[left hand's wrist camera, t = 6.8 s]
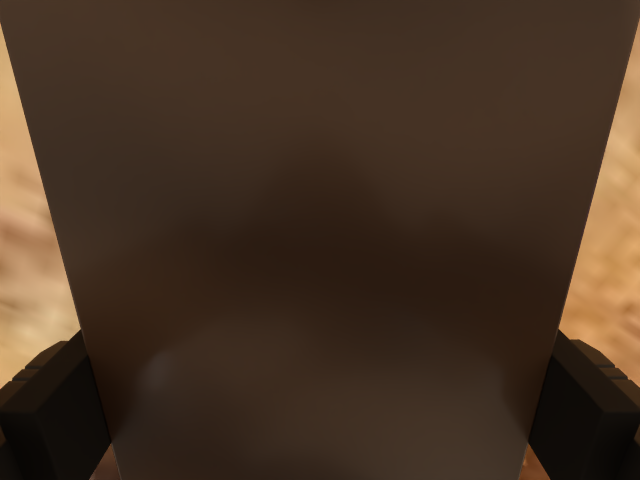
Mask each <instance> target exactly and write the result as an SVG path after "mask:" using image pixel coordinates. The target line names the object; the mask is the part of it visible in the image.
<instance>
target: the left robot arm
mask: <svg viewBox="0 0 640 480" xmlns="http://www.w3.org/2000/svg"><path fill="white" fill-rule="evenodd" d="M110 444H111V441H110V438H109V434H108V430H107V426H106V422H105V419H104V415H103V411H102V407H101V403H100V400H99V396H98V392H97V388H96V384H95V381H94V377H93V373H92V369H91V365H90V362H89V358H88V354H87V350H86V346H85V343H84V339H83V335H82V331H81V329H80V330H79V331H78V332H77V333H76V334H75V335H74V336H73V337H72V338H71V339H70V340H69V341H60V342H58V343H56V344H54V345H53V346H51V347H49V348H48V349H46V350H44V351H42V352H41V353H39V354H38V355H37V356H36V357H35V358H34V359H33V360H32V361H31V362H30V363H28V364H27V365H26V366H25V369H22V370H21V371H20V372H19V373H18V374H16V375H15V376H14V377H13V378H12V381H9V382H8V383H7V384H6V385H4V386H3V387H2V388H1V389H0V480H89V479H90V477H91V475H92V474H93V472H94V470H95V469H96V467H97V465H98V464H99V462H100V460H101V459H102V457H103V455H104V454H105V452H106V450H107V449H108V447H109V445H110ZM529 444H530V446H531V448H532V449H533V451H534V453H535V454H536V456H537V458H538V459H539V461H540V463H541V464H542V466H543V468H544V469H545V471H546V473H547V474H548V476H549V478H550V479H551V480H640V388H639V387H638V386H637V385H636V384H635V383H634V382H633V381H632V380H628V378H627V376H626V375H625V374H624V373H623V372H622V371H621V370H620V369H619V368H615V365H614V364H613V363H612V362H611V361H610V360H609V359H608V358H606V357H605V356H604V355H603V354H602V353H601V352H600V351H598V350H596V349H595V348H593V347H591V346H590V345H588V344H586V343H584V342H583V341H581V340H569V339H568V338H567V337H566V336H565V335H564V334H563V333H562V332H561V331H560V330H559V329H558V332H557V336H556V340H555V343H554V347H553V351H552V355H551V359H550V362H549V366H548V370H547V374H546V378H545V382H544V385H543V389H542V393H541V397H540V401H539V405H538V408H537V412H536V416H535V420H534V424H533V427H532V431H531V435H530V439H529Z"/></svg>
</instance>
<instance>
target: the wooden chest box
mask: <svg viewBox="0 0 640 480" xmlns="http://www.w3.org/2000/svg"><path fill="white" fill-rule="evenodd" d="M639 19H640V0H0V23H1V27H2V31H3V34H4V38H5V42H6V46H7V50H8V53H9V57H10V61H11V65H12V69H13V72H14V76H15V80H16V84H17V88H18V91H19V95H20V99H21V103H22V107H23V110H24V114H25V118H26V122H27V126H28V129H29V133H30V137H31V141H32V145H33V148H34V152H35V156H36V160H37V164H38V168H39V171H40V175H41V179H42V183H43V187H44V190H45V194H46V198H47V202H48V206H49V209H50V213H51V217H52V221H53V225H54V228H55V232H56V236H57V240H58V244H59V247H60V251H61V255H62V259H63V263H64V266H65V270H66V274H67V278H68V282H69V285H70V289H71V293H72V297H73V301H74V304H75V308H76V312H77V316H78V320H79V323H80V327H81V331H82V335H83V339H84V343H85V346H86V350H87V354H88V358H89V362H90V365H91V369H92V373H93V377H94V381H95V384H96V388H97V392H98V396H99V400H100V403H101V407H102V411H103V415H104V419H105V422H106V426H107V430H108V434H109V438H110V441H111V445H112V449H113V453H114V457H115V460H116V464H117V468H118V472H119V476H120V479H121V480H519V477H520V473H521V469H522V466H523V462H524V458H525V454H526V450H527V447H528V443H529V439H530V435H531V431H532V427H533V424H534V420H535V416H536V412H537V408H538V405H539V401H540V397H541V393H542V389H543V385H544V382H545V378H546V374H547V370H548V366H549V362H550V359H551V355H552V351H553V347H554V343H555V340H556V336H557V332H558V328H559V324H560V320H561V317H562V313H563V309H564V305H565V301H566V298H567V294H568V290H569V286H570V282H571V278H572V275H573V271H574V267H575V263H576V259H577V256H578V252H579V248H580V244H581V240H582V236H583V233H584V229H585V225H586V221H587V217H588V214H589V210H590V206H591V202H592V198H593V194H594V191H595V187H596V183H597V179H598V175H599V172H600V168H601V164H602V160H603V156H604V152H605V149H606V145H607V141H608V137H609V133H610V129H611V126H612V122H613V118H614V114H615V110H616V107H617V103H618V99H619V95H620V91H621V87H622V84H623V80H624V76H625V72H626V68H627V65H628V61H629V57H630V53H631V49H632V45H633V42H634V38H635V34H636V30H637V26H638V23H639Z"/></svg>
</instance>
